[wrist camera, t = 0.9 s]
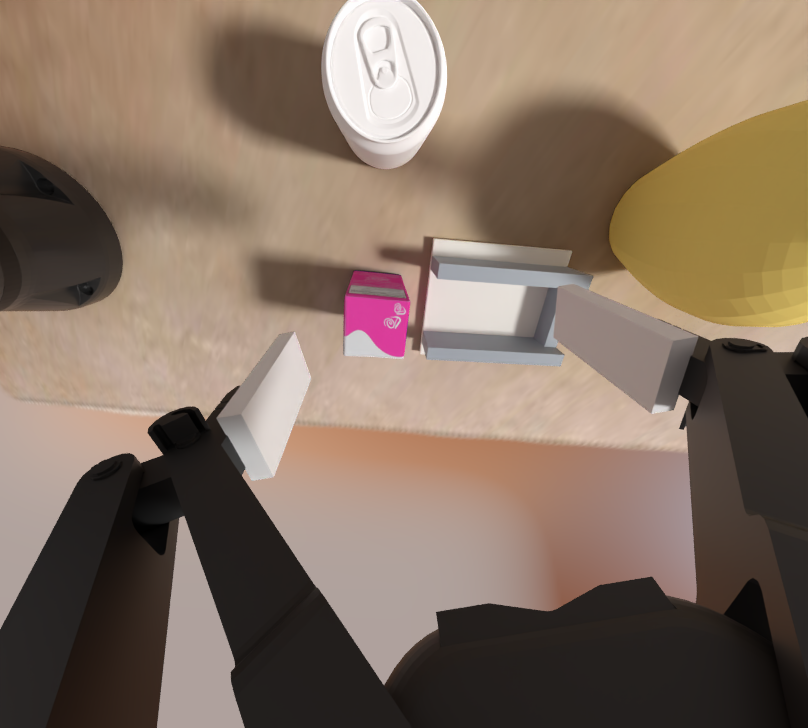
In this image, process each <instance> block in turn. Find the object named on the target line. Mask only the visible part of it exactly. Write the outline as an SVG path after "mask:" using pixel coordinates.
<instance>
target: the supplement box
mask: <svg viewBox="0 0 808 728" xmlns="http://www.w3.org/2000/svg"><path fill="white" fill-rule="evenodd" d="M409 308H410V300H409V297H408V294H407V291H406V289H405V286H404V283H403V280H402V277H401V275H396V274H386V273H377V272H367V271H356V270H355V271H353V275H352V277H351V280H350V283H349V286H348V289H347V291H346V294H345V298H344V342H343V354H344V356H363V357H381V358H396V359H403V358H404V352H405V343H406V335H407V326H408V317H409Z"/></svg>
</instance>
